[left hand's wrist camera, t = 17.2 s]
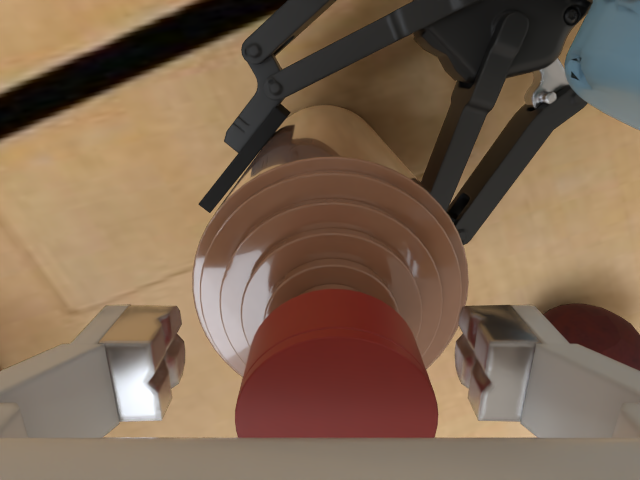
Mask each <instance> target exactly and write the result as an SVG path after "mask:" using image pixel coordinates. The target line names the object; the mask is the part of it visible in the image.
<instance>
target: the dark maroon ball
mask: <svg viewBox="0 0 640 480" xmlns="http://www.w3.org/2000/svg"><path fill="white" fill-rule="evenodd" d="M544 316H545V318H546V319H547V320H548V321H549V322H550V323H551V324H552V325H553V326H554V327H555V328H556V329H557V330H558V332H559V333H560V334H561V335H562V336H563V337H564V338H565V339H566V340H567V341H568V342H569V343H570V344H579V345H581V346H584V347H586V348H588V349H590V350H593V351H595V352H597V353H600V354H602V355H604V356H606V357H609V358H611V359H613V360H616V361H618V362H620V363H622V364H625V365H627V366H629V367H632V368H634V369H636V370H639V371H640V335H639V333H638V332H637V331H636V330H635V328H634V327H633V326H632V325H631V324H630V323H629V322H627V321H626V320H624V319H623V318H622V317H620V316H618V315H616V314H614V313H612V312H610V311H608V310H606V309H604V308H601V307H596V306H591V305H587V304H567V305H560V306H558V307H555V308H553V309H550V310H549V311H547V312H546V313H545V314H544Z"/></svg>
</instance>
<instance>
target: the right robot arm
mask: <svg viewBox="0 0 640 480" xmlns="http://www.w3.org/2000/svg"><path fill="white" fill-rule="evenodd" d="M335 1H336V0H288V1H287V2H286V3H285V4H283V5H282V6H281V7H280V8H279V9H278V10H277V11H276V12H275V13H274V14H273V15H272V16H271V17H270V18H269V19H267V20H266V21H265V22H264V23H263V24H262V25H261V26H260V27H259V28H258V29H257V30H256V31H255V32H254V33H253V34H251V35H250V36H249V37H248V38H247V39H246V40H245V42H244V43H243V45H242V49H241V50H242V55H243V57H244V59H245V60H246V61H247V62H248V64H249V66H250V67H251V69H252V71H253V73H254V74H255V76H256V78H257V82H258V88H257V91H256V93H255V95H254V96H253V98H252V99H251V100H250V102H249V103H248V104H247V105H246V107H245V108H244V109H243V111H242V112H241V113H240V115H239V116H238V117H237V119H236V120H235V121H234V123H233V124H232V125H231V126H230V128H229V129H228V130H227V132H226V136H225V140H224V142H225V143H227V144H228V145H229V146H230V147H232V148H233V149H234V150H235V151H237V152H238V155H237V156H236V157H235V158H234V160H233V161H232V162H231V164H230V165H229V166H228V167H227V169H226V170H225V171H224V172H223V174H222V175H221V176H220V178H219V179H218V180H217V181H216V183H215V184H214V185H213V186H212V188H211V189H210V190H209V191H208V193H207V194H206V195H205V197H204V198H203V199H202V200H201V202H200V203H199V205H200V206H201V207H203V208H204V209H205V210H207V211H208V212H209V213H210V212H211V211H212V210H213V209H214V207H215V206H216V205H217V204H218V203H219V201H220V200H221V199H222V198H223V196H224V195H225V194H226V193H227V191H228V190H229V189H230V188H231V186H232V185H233V184H234V183H235V181H236V180H237V179H238V178H239V176H240V175H241V174H242V173H243V171H244V170H245V169H246V168H247V166H248V165H249V164H250V163H251V161H252V160H253V159H254V158H255V157H256V155H257V154H258V153H259V152H260V150H261V149H262V148H263V147H264V145H265V144H266V143H267V142H268V140H269V139H270V138H271V137H272V135H273V134H274V133H275V132H276V130H277V129H278V128H279V127H280V125H281V124H282V123H283V122H284V120H285V119H286V118H287V117H288V115H289V114H290V112H289V111H288V110H287V109H286V108H285V107H284V106H282V105H281V104H280V103H281V102H282V101H283V100H284V98H285V97H287V96H289V95H291V94H293V93H295V92H297V91H299V90H301V89H303V88H305V87H307V86H309V85H311V84H313V83H315V82H317V81H319V80H321V79H323V78H325V77H327V76H329V75H331V74H333V73H335V72H337V71H339V70H341V69H343V68H344V67H346V66H348V65H350V64H352V63H354V62H356V61H358V60H360V59H362V58H364V57H366V56H368V55H370V54H372V53H374V52H376V51H378V50H380V49H382V48H384V47H386V46H388V45H390V44H392V43H394V42H396V41H398V40H400V39H402V38H404V37H406V36H408V35H410V34H412V33H413V34H414V36H415V38H414V40H415V41H416V42H417V43H418V44H419V45H420V46H421V47H422V48H423V49H424V50H426V51H428V52H429V53H431V54H433V55H435V56H437V57H438V59H439V61H440V62H441V64H442V66H443V68H444V70H445V71H446V72H447V73H448V74H449V75H450V76H451V77H452V78H453V79H454V80H455V81H457V82H456V85H455V88H454V90H453V93H452V97H451V105H450V108H449V110H448V113H447V116H446V118H445V121H444V123H443V126H442V129H441V131H440V134H439V136H438V139H437V142H436V144H435V147H434V150H433V152H432V155H431V157H430V160H429V163H428V165H427V168H426V170H425V173H424V176H423V178H422V181H421V183H422V185H423V186H424V187H425V188H426V189H427V190H428V191H429V192H430V193H431V195H432V196H433V197H434V198H435V199H436V200H437V201H438V202H439V204H440V205H441V206H442V207H443V209H444V210H445V211H446V213H447V214H448V215H449V217H450V218H451V220H452V222H453V224H454V226H455V227H456V229H457V231H458V233H459V236H460V238H461V241H462V244H463V245H465V244H467V243H468V242H469V241H470V240H471V239H472V238H473V236H474V235H475V234H476V232H477V231H478V230H479V228H480V227H481V226H482V224H483V223H484V222H485V220H486V219H487V218H488V216H489V215H490V214H491V212H492V211H493V210H494V208H495V207H496V206H497V204H498V203H499V202H500V200H501V199H502V198H503V196H504V195H505V194H506V192H507V191H508V190H509V188H510V187H511V186H512V184H513V183H514V182H515V180H516V179H517V178H518V176H519V175H520V174H521V172H522V171H523V170H524V168H525V167H526V166H527V164H528V163H529V162H530V160H531V159H532V158H533V156H534V155H535V154H536V152H537V151H538V150H539V148H540V147H541V146H542V144H543V143H544V142H545V140H546V139H547V138H548V136H549V135H550V134H551V132H552V131H553V130H554V129H555V128H557V127H558V126H559V125H561V124H562V123H563V122H565V121H566V120H567V119H569V118H570V117H572V116H573V115H574V114H576V113H577V112H578V111H580V110H581V109H582V108H584V107H585V106H586V105H587V103H589V104H590V105H592V106H594V107H595V108H597V109H598V110H600V111H602V112H603V113H605V114H607V115H609V116H611V117H613V118H615V119H617V120H619V121H621V122H623V123H625V124H627V125H629V126H631V127H633V128H635V129H638V130H640V0H413V2H411V3H409V4H407V5H405V6H403V7H401V8H399V9H397V10H395V11H394V12H392V13H390V14H388V15H387V16H385V17H383V18H381V19H379V20H377V21H375V22H373V23H371V24H369V25H367V26H365V27H363V28H361V29H360V30H358V31H356V32H354V33H352V34H350V35H348V36H346V37H344V38H342V39H340V40H338V41H336V42H334V43H333V44H331V45H329V46H327V47H325V48H323V49H321V50H319V51H317V52H315V53H313V54H311V55H309V56H307V57H306V58H304V59H302V60H300V61H298V62H296V63H294V64H292V65H290V66H288V67H286V68H284V69H282V68H281V67H280V65H279V63H278V61H277V59H276V58H275V56H276V55H277V54H278V53H279V52H280V51H281V50H282V49H284V48H285V47H286V46H287V45H288V44H289V43H290V42H291V41H292V40H293V39H295V38H296V37H297V36H298V35H299V34H300V33H301V32H302V31H303V30H304V29H306V28H307V27H308V26H309V25H310V24H311V23H312V22H313V21H314V20H315V19H317V18H318V17H319V16H320V15H321V14H322V13H323V12H324V11H325V10H326V9H328V8H329V7H330V6H331V5H332V4H333V3H334V2H335ZM586 14H587V15H586ZM585 15H586V17H585V19H584V21H583V23H582V25H581V27H580V29H579V31H578V33H577V35H576V37H575V39H574V41H573V43H572V45H571V47H570V49H569V51H568V53H567V56H566V60H565V69H564V67H563V66H562V64H561V62H560V61H559V59H558V57H559V55H560V53H561V51H562V49H563V46H564V43H565V41H566V38H567V36H568V34H569V33H570V31H571V30H572V28H573V27H574V26H575V25H576V24H577V23H578V22H579V21H580V20H581V19H582V18H583V17H584V16H585ZM530 72H533V75H534V80H533V83H532V85H531V87H530V88H529V89H528V90H527V92H526V94H525V103H526V104H525V105H524V106H523V107H521V108H520V109H519V111H518V112H517V113H516V114H515V115H514V116H513V117H512V119H511V120H510V121H509V123H508V124H507V125H506V127H505V128H504V130H503V131H502V132H501V134H500V135H499V137H498V138H497V139H496V141H495V142H494V144H493V145H492V146H491V148H490V149H489V151H488V152H487V153H486V155H485V156H484V158H483V159H482V160H481V162H480V163H479V165H478V166H477V167H476V169H475V170H474V172H473V173H472V174H471V176H470V177H469V179H468V180H467V181H466V183H465V184H464V186H463V187H462V188H461V190H460V191H459V193H458V194H457V195H456V197H455V198H454V200H453V201H452V202H451V199H452V197H453V195H454V192H455V190H456V187H457V185H458V183H459V180H460V178H461V175H462V173H463V170H464V168H465V166H466V163H467V161H468V158H469V156H470V154H471V151H472V149H473V146H474V144H475V141H476V139H477V137H478V134H479V132H480V129H481V127H482V125H483V122H484V120H485V117H486V115H487V114H488V112H489V111H491V110H492V108H493V107H494V105H495V103H496V100H497V98H498V96H499V93H500V91H501V88H502V86H503V84H504V81H505V79H506V78H509V77H513V76H517V75H522V74H526V73H530ZM450 202H451V204H450ZM449 204H450V205H449Z"/></svg>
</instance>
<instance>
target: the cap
mask: <svg viewBox="0 0 640 480" xmlns="http://www.w3.org/2000/svg"><path fill="white" fill-rule="evenodd" d="M235 425H236V432H237V435H238V438H434V437H435V433H436V429H437V425H438V407H437V401H436V397H435V394H434V391H433V388H432V385H431V383H430V380H429V377H428V374H427V371H426V368H425V365H424V363H423V360H422V357H421V354H420V351H419V349H418V346H417V343H416V340H415V338H414V335H413V333H412V331H411V329H410V328H409V326H408V324H407V323H406V321H405V320H404V319H403V318H402V317H401V316H400V315H399V313H397V312H396V311H395V310H394V309H393V308H392V307H390V306H389V305H387V304H386V303H384V302H383V301H381V300H379V299H377V298H375V297H373V296H370V295H367V294H364V293H361V292H357V291H352V290H346V289H323V290H317V291H312V292H308V293H305V294H302V295H299V296H297V297H294V298H292V299H290V300H288V301H287V302H285V303H283V304H282V305H280V306H279V307H278V308H276V309H275V310H274V311H272V312H271V313H270V314H269V315H268V316H267V317H266V318H265V320H264V321H263V322H262V324H261V325H260V326H259V328H258V330H257V332H256V333H255V335H254V338H253V341H252V343H251V347H250V351H249V355H248V359H247V363H246V367H245V371H244V375H243V379H242V383H241V387H240V391H239V395H238V399H237V404H236V409H235Z"/></svg>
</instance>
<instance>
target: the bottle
mask: <svg viewBox="0 0 640 480" xmlns="http://www.w3.org/2000/svg"><path fill="white" fill-rule="evenodd" d="M192 279H193V296H194V303H195V308H196V311H197V314H198V318H199V321H200V324H201V326H202V328H203V330H204V332H205V334H206V336H207V338H208V340H209V341H210V343H211V344H212V346H213V348H214V349H215V350H216V352H217V353H218V354H219V355H220V356H221V358H222V359H223V360H224V361H225V362H226V363H227V364H228V365H229V366H230V367H231V368H232V369H233V370H234V371H235V372H236V373H238V374H239V375H241V376H242V377H243V375H244V371H245V367H246V363H247V359H248V355H249V351H250V347H251V343H252V341H253V338H254V335H255V333H256V332H257V330H258V328H259V326H260V325H261V324H262V322H263V321H264V320H265V318H266V317H267V316H268V315H269V314H270V313H271V312H272V311H274V310H275V309H276V308H278V307H279V306H280V305H282V304H283V303H285V302H287V301H288V300H290V299H292V298H294V297H297V296H299V295H302V294H305V293H308V292H312V291H317V290H323V289H346V290H352V291H357V292H361V293H364V294H367V295H370V296H373V297H375V298H377V299H379V300H381V301H383V302H384V303H386V304H387V305H389V306H390V307H392V308H393V309H394V310H395V311H396V312H397V313H399V315H400V316H401V317H402V318H403V319H404V320H405V321H406V323H407V324H408V326H409V328H410V329H411V331H412V333H413V335H414V338H415V340H416V343H417V346H418V349H419V351H420V354H421V357H422V360H423V363H424V365H425V368H426V369H427V368H428V367H429V366H430V365H431V364H432V363H433V362H434V361H435V360H436V359H437V358H438V357H439V356H440V355H441V353H442V352H443V351H444V349H445V348H446V347H447V345H448V344H449V343H450V341H451V339H452V337H453V336H454V334H455V332H456V330H457V328H458V326H459V324H458V322H459V314H460V311H461V308H462V307H464V306H465V304H466V300H467V293H468V282H469V281H468V264H467V260H466V255H465V250H464V247H463V244H462V241H461V238H460V236H459V233H458V231H457V229H456V227H455V226H454V224H453V222H452V220H451V218H450V217H449V215H448V214H447V213H446V211H445V210H444V209H443V207H442V206H441V205H440V204H439V202H438V201H437V200H436V199H435V198H434V197H433V196H432V195H431V193H430V192H429V191H428V190H427V189H426V188H425V187H424V186H423V185H422V183H421V182H420V181H419V180H418V179H417V178H416V177H415V176H414V175H413V173H412V172H411V171H410V170H409V169H408V168H407V167H406V166H405V164H404V163H403V162H402V161H401V160H400V159H399V158H398V157H397V156H396V154H395V153H394V152H393V151H392V150H391V149H390V148H389V147H388V146H387V144H386V143H385V142H384V141H383V140H382V139H381V138H380V137H379V136H378V134H377V133H376V132H375V131H374V130H373V129H372V128H371V127H370V126H369V124H368V123H367V122H366V121H365V120H363V119H362V118H361V117H360V116H358V115H357V114H355V113H353V112H352V111H350V110H347V109H345V108H342V107H338V106H332V105H316V106H311V107H307V108H304V109H301V110H299V111H297V112H295V113H294V114H292V115H291V116H289V117H288V118H287V119H285V120H284V122H283V123H282V124H281V125H280V127H279V128H278V129H277V130H276V132H275V133H274V134H273V135H272V137H271V138H270V139H269V140H268V142H267V143H266V144H265V145H264V147H263V148H262V149H261V151H260V152H259V154H258V155H257V156H256V158H255V159H254V160H253V162H252V163H251V165H250V166H249V167H248V169H247V170H246V171H245V173H244V174H243V175H242V177H241V178H240V180H239V181H238V182H237V184H236V185H235V186H234V188H233V189H232V191H231V192H230V193H229V195H228V196H227V197H226V199H225V200H224V202H223V203H222V204H221V206H220V207H219V208H218V210H217V211H216V213H215V214H214V216H213V217H212V219H211V220H210V222H209V223H208V225H207V227H206V229H205V231H204V233H203V235H202V237H201V239H200V242H199V245H198V249H197V252H196V255H195V260H194V267H193V274H192Z"/></svg>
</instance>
